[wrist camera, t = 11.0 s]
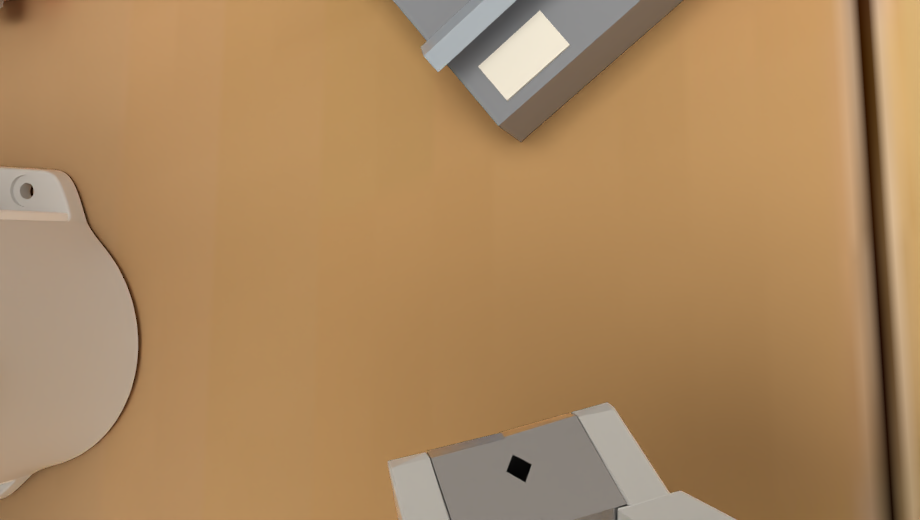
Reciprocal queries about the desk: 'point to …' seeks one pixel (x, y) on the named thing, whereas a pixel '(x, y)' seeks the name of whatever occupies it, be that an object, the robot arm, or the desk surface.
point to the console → (538, 51)
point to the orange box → (0, 3)
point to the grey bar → (462, 30)
